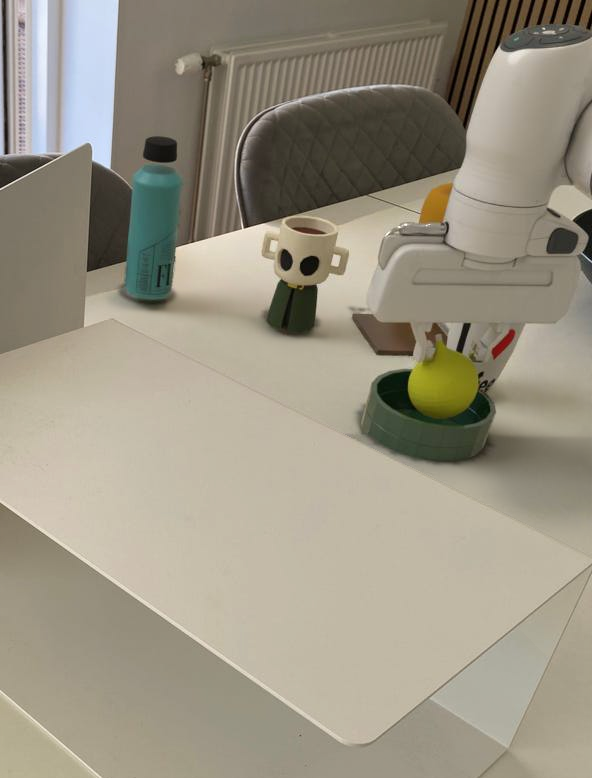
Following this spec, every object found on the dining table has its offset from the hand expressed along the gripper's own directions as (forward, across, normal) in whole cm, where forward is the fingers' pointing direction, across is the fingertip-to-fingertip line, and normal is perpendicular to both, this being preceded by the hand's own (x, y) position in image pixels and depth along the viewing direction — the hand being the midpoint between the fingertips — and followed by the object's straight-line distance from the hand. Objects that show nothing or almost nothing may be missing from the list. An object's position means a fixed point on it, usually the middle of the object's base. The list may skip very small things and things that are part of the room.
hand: (450, 360), depth 103 cm
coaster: (+9, +7, +26) cm, 29 cm away
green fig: (+6, 0, 0) cm, 6 cm away
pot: (+9, 0, 0) cm, 9 cm away
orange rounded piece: (+10, +20, +47) cm, 52 cm away
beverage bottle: (+9, -26, +36) cm, 45 cm away
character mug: (+9, -8, +28) cm, 31 cm away
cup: (+10, +10, +12) cm, 18 cm away
